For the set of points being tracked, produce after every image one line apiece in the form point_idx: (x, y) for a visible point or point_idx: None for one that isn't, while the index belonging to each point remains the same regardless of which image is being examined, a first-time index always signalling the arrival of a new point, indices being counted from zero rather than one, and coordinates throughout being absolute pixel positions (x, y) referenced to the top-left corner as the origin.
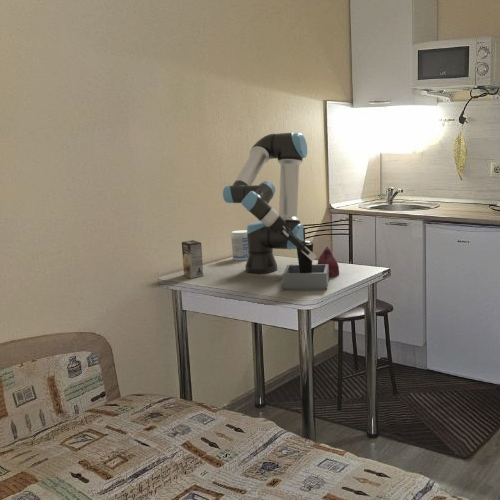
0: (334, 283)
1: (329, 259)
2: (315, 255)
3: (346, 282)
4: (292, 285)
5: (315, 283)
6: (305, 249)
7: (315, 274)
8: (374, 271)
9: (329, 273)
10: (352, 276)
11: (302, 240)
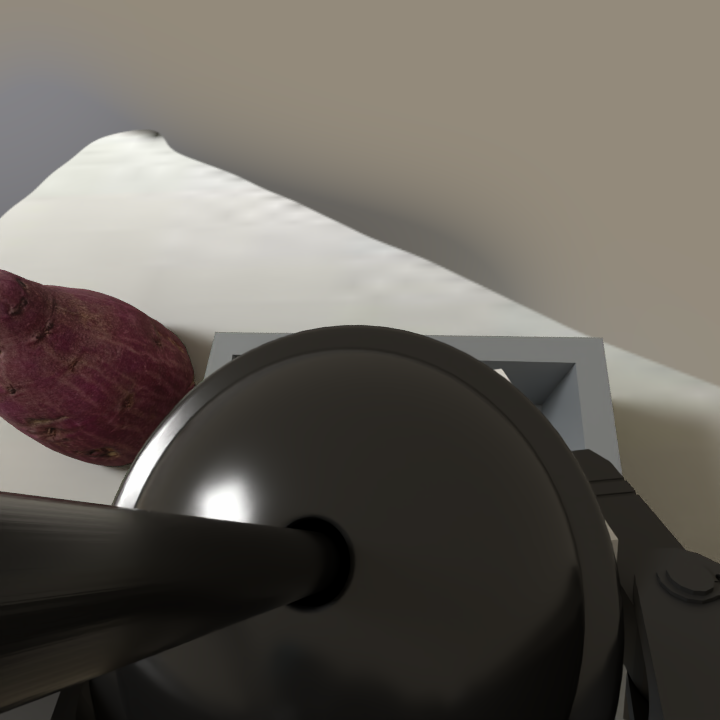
0: None
1: (92, 320)
2: (509, 380)
3: (355, 280)
4: None
5: None
6: (668, 542)
7: (613, 443)
8: (141, 167)
9: (181, 367)
10: (214, 255)
11: (303, 646)
